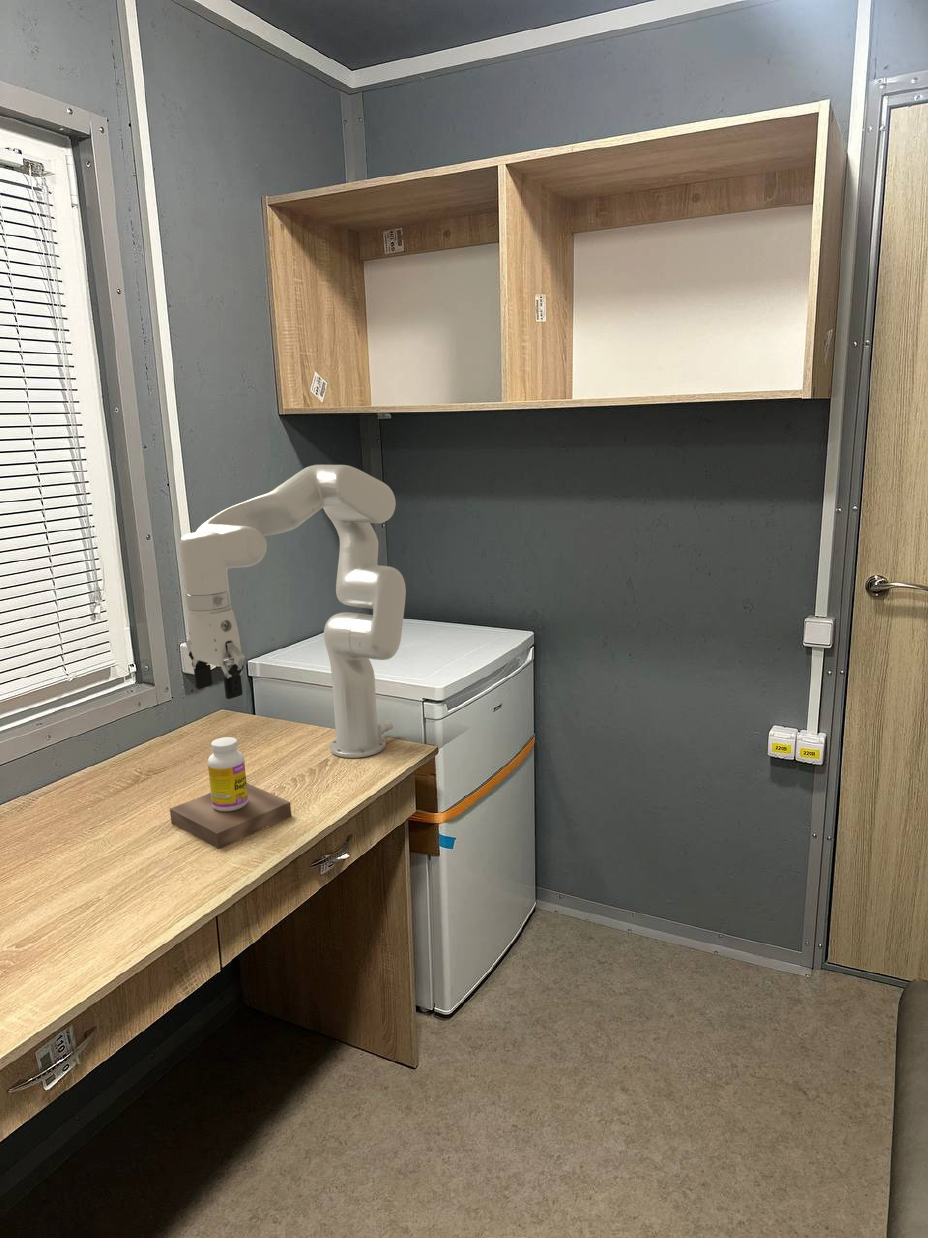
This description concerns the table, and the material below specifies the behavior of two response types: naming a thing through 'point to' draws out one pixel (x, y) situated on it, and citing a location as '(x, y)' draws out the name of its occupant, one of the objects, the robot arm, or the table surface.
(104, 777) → the table surface
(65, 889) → the table surface
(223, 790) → the supplement bottle
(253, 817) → the block
